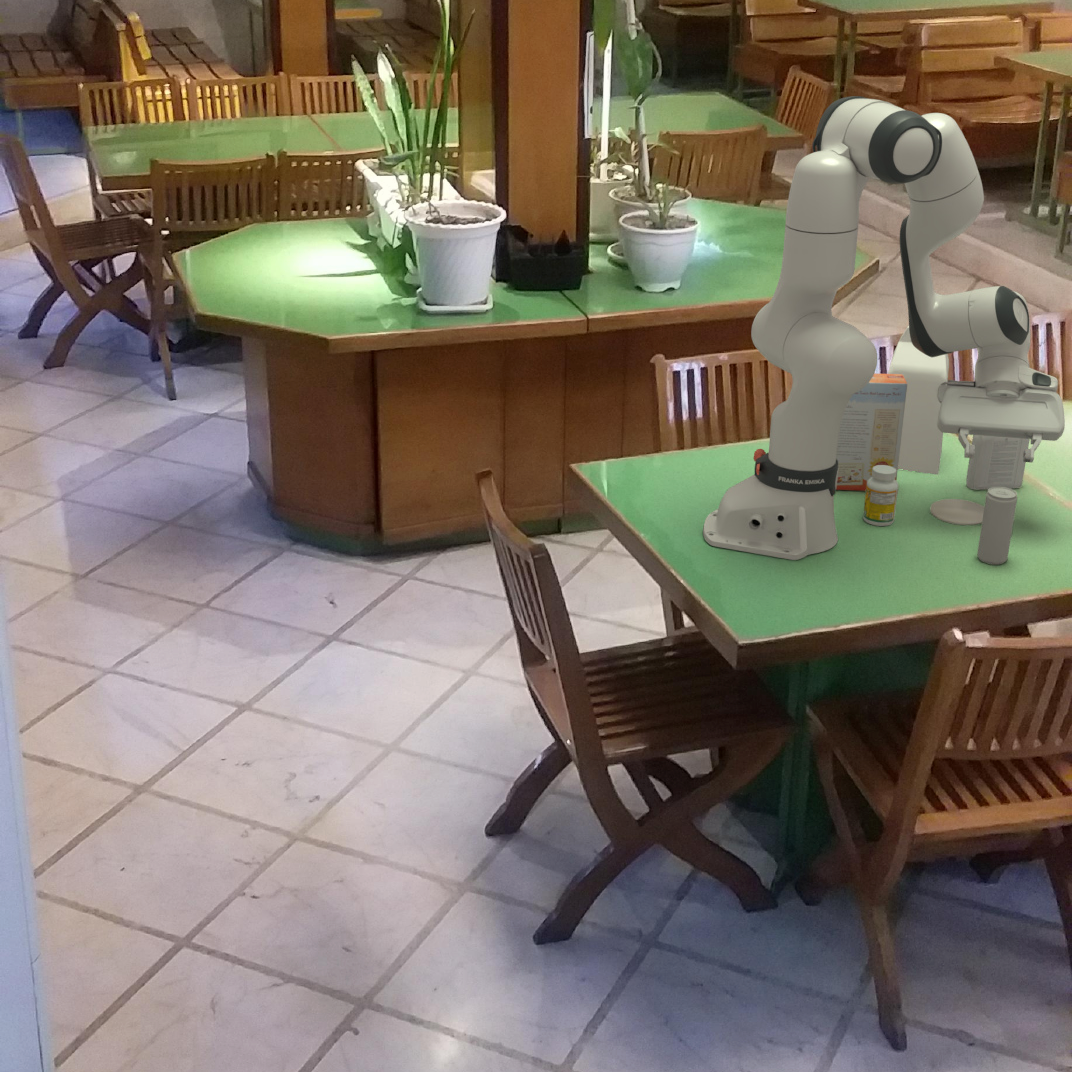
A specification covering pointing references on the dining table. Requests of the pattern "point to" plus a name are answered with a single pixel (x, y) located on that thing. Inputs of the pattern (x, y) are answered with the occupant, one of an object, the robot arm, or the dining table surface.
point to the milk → (920, 406)
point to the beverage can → (997, 525)
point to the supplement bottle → (881, 496)
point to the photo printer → (996, 462)
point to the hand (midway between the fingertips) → (998, 458)
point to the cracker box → (871, 430)
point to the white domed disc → (957, 511)
